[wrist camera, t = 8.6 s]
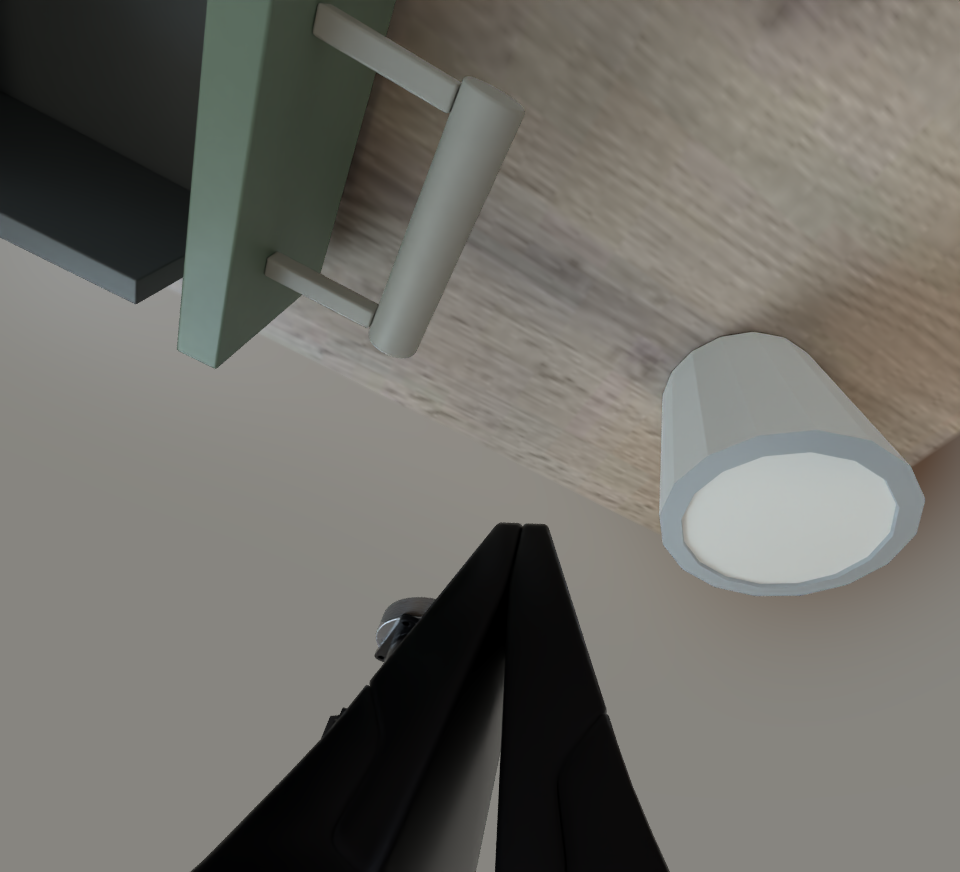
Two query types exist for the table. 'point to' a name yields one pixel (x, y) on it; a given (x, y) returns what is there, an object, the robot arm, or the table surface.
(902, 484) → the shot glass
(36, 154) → the drawer
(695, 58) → the table surface
